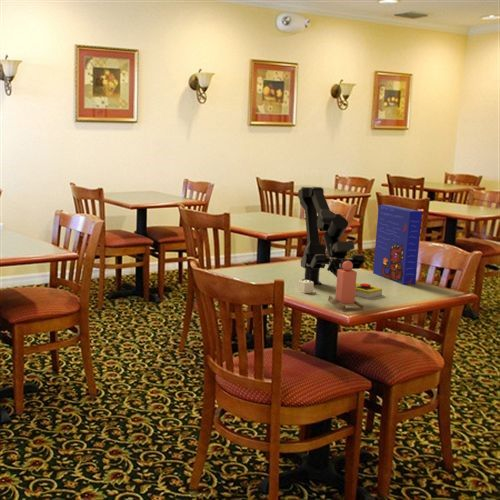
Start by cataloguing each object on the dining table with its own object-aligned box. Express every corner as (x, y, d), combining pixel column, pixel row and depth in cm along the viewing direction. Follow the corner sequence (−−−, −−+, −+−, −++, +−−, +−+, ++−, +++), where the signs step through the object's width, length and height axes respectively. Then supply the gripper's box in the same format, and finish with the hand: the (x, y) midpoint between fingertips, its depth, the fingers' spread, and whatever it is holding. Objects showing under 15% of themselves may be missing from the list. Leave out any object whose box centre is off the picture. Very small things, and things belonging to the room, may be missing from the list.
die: (298, 290, 251) (298, 279, 250) (307, 290, 252) (307, 278, 252) (304, 293, 247) (304, 281, 246) (313, 292, 249) (313, 281, 248)
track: (327, 300, 237) (328, 295, 237) (347, 300, 239) (348, 295, 239) (342, 311, 224) (343, 305, 224) (363, 310, 226) (364, 305, 226)
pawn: (335, 299, 234) (338, 259, 231) (348, 299, 235) (351, 259, 233) (340, 303, 229) (344, 262, 227) (354, 303, 230) (357, 262, 228)
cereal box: (415, 284, 272) (422, 211, 267) (403, 284, 270) (410, 211, 265) (384, 272, 292) (390, 204, 287) (373, 273, 290) (378, 204, 284)
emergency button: (372, 289, 241) (339, 281, 252) (371, 301, 242) (338, 292, 252) (387, 286, 248) (354, 278, 258) (386, 297, 249) (353, 289, 259)
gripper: (315, 231, 233) (325, 269, 225) (365, 232, 238) (375, 269, 230) (306, 250, 242) (315, 286, 234) (354, 250, 247) (364, 286, 239)
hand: (343, 281), depth 234 cm, fingers closed, pressing on pawn
